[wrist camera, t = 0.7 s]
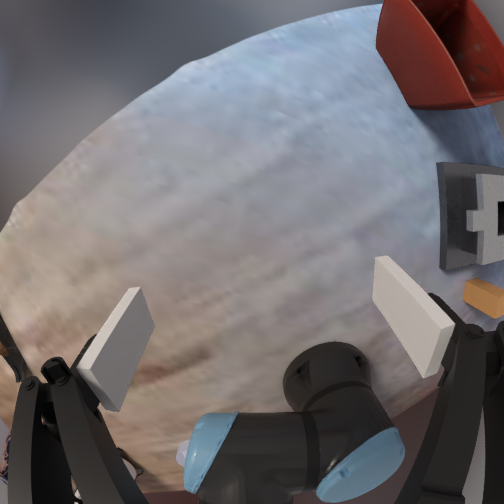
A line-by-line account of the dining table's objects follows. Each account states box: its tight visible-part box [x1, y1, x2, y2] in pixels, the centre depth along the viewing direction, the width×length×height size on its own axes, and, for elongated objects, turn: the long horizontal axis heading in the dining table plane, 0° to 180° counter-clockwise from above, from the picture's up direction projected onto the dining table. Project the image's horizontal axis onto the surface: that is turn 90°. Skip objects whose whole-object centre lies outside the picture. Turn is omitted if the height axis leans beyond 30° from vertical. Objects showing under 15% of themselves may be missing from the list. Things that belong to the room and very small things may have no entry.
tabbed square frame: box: [436, 162, 504, 270], centre depth 33 cm, size 18×20×8 cm
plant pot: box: [376, 0, 504, 110], centre depth 24 cm, size 19×19×17 cm
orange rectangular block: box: [463, 278, 504, 319], centre depth 36 cm, size 4×4×10 cm
